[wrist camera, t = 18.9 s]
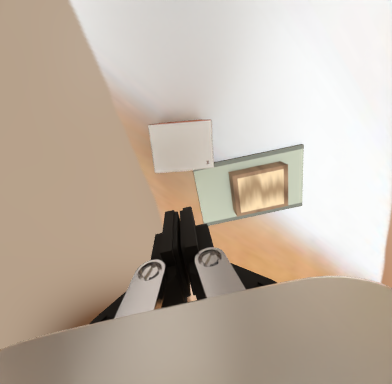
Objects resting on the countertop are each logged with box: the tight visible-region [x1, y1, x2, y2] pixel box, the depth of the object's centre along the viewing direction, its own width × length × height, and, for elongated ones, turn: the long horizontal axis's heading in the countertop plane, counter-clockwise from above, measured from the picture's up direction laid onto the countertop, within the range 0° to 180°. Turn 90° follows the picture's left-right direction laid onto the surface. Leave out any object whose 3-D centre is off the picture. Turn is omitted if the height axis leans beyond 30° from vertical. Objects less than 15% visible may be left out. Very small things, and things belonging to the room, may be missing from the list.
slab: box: [228, 161, 288, 217], centre depth 39 cm, size 9×3×11 cm
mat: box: [193, 144, 304, 226], centre depth 41 cm, size 14×23×1 cm, turn 101°
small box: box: [148, 120, 214, 173], centre depth 30 cm, size 8×6×13 cm
